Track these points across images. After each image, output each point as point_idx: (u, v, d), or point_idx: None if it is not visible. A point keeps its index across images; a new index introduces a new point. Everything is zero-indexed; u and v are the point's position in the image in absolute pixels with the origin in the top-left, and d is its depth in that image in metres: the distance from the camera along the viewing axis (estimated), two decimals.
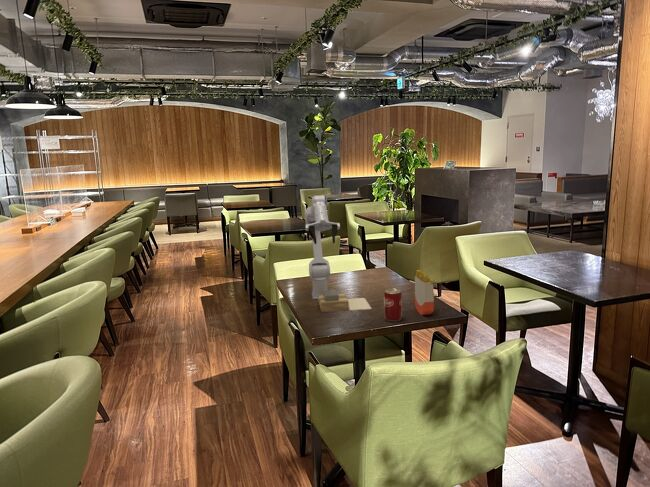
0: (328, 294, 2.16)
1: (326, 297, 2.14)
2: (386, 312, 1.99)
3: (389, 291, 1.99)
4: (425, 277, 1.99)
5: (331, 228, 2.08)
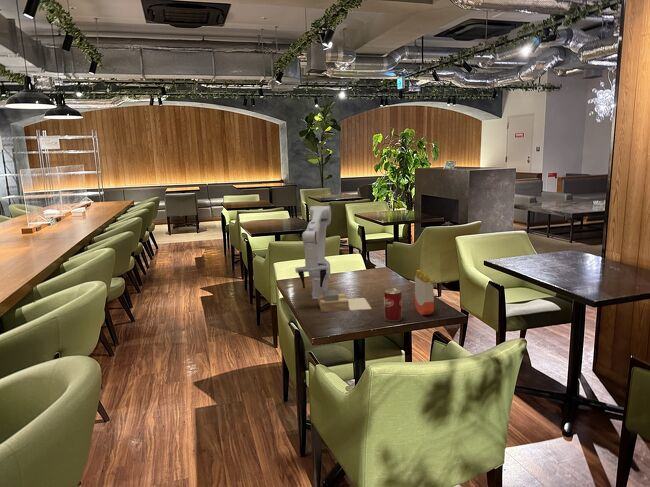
0: (328, 294, 2.16)
1: (326, 297, 2.14)
2: (386, 312, 1.99)
3: (389, 291, 1.99)
4: (425, 277, 1.99)
5: (320, 270, 2.17)
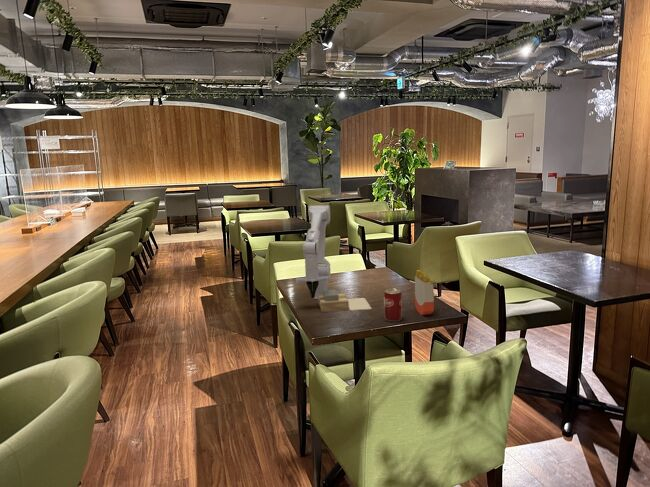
0: (328, 294, 2.16)
1: (326, 297, 2.14)
2: (386, 312, 1.99)
3: (389, 291, 1.99)
4: (425, 277, 1.99)
5: None
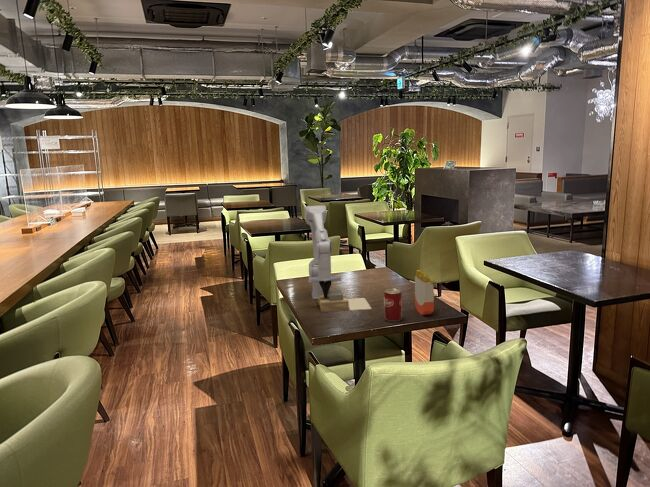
0: (332, 294, 2.16)
1: (330, 297, 2.15)
2: (386, 312, 1.99)
3: (389, 291, 1.99)
4: (425, 277, 1.99)
5: (333, 280, 2.18)
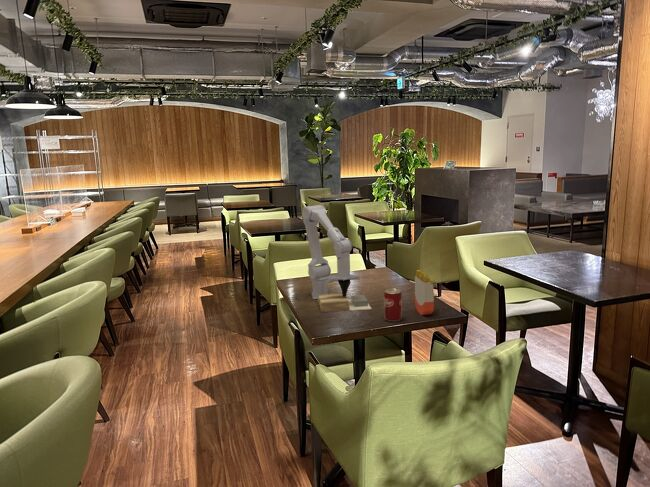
0: None
1: (366, 304, 2.17)
2: (386, 312, 1.99)
3: (389, 291, 1.99)
4: (425, 277, 1.99)
5: (352, 279, 2.19)
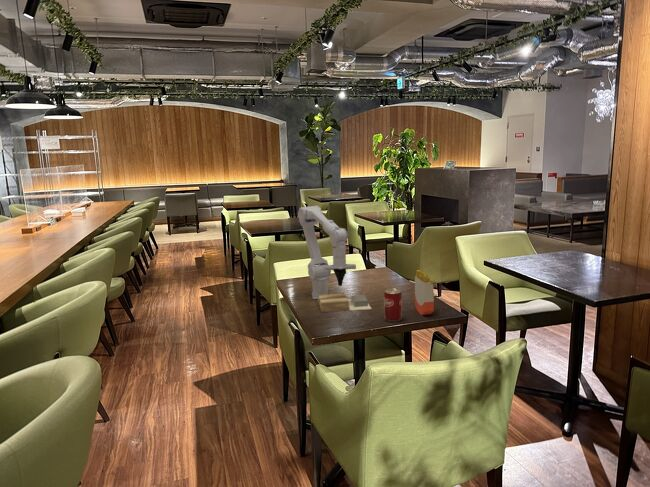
0: None
1: (366, 304, 2.17)
2: (386, 312, 1.99)
3: (389, 291, 1.99)
4: (425, 277, 1.99)
5: (347, 268, 2.19)
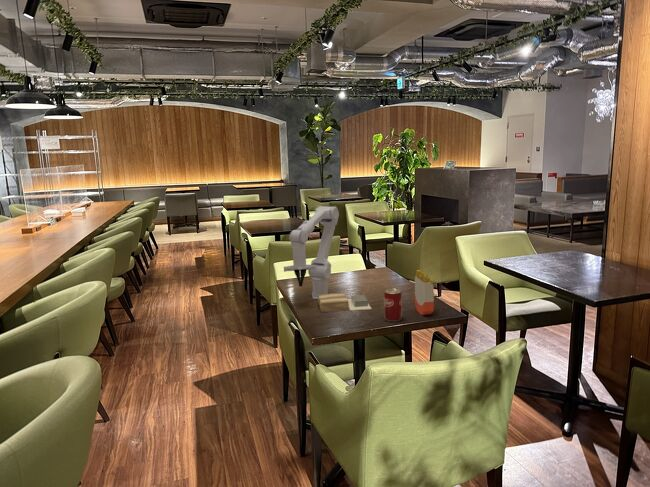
0: None
1: (366, 304, 2.17)
2: (386, 312, 1.99)
3: (389, 291, 1.99)
4: (425, 277, 1.99)
5: (308, 269, 2.20)
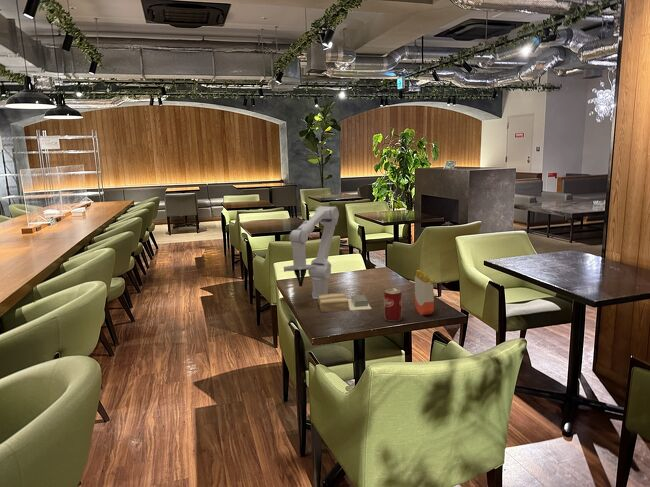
0: None
1: (366, 304, 2.17)
2: (386, 312, 1.99)
3: (389, 291, 1.99)
4: (425, 277, 1.99)
5: (308, 269, 2.20)
